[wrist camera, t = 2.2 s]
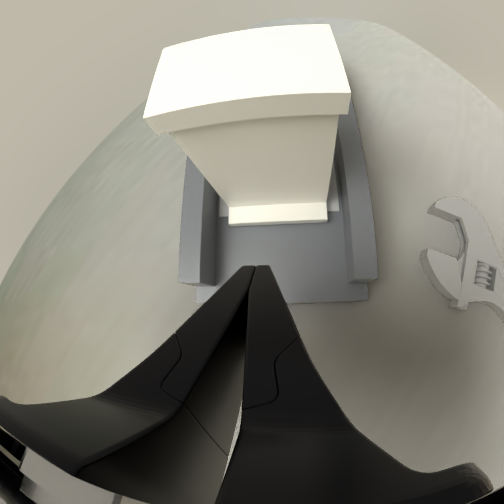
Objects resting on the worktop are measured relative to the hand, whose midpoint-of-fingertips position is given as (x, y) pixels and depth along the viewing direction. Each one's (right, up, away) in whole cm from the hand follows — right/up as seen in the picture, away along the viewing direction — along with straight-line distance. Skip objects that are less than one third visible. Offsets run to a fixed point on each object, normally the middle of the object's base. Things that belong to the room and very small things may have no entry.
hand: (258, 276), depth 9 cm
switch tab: (+1, +5, +8) cm, 9 cm away
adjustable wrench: (+20, -5, +5) cm, 21 cm away
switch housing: (+2, +6, +10) cm, 12 cm away
